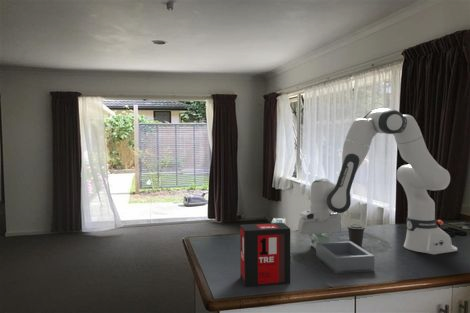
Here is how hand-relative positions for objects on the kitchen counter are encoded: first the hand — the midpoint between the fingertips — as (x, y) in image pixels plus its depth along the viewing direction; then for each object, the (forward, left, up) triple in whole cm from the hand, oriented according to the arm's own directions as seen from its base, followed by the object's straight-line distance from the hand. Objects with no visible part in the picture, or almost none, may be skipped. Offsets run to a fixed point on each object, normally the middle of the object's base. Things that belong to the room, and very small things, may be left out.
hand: (319, 242), depth 169 cm
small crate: (0, 0, -3) cm, 3 cm away
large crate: (-2, +21, -3) cm, 21 cm away
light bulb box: (+16, -14, -3) cm, 21 cm away
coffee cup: (-18, 0, -3) cm, 18 cm away
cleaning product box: (+34, +33, -3) cm, 47 cm away
